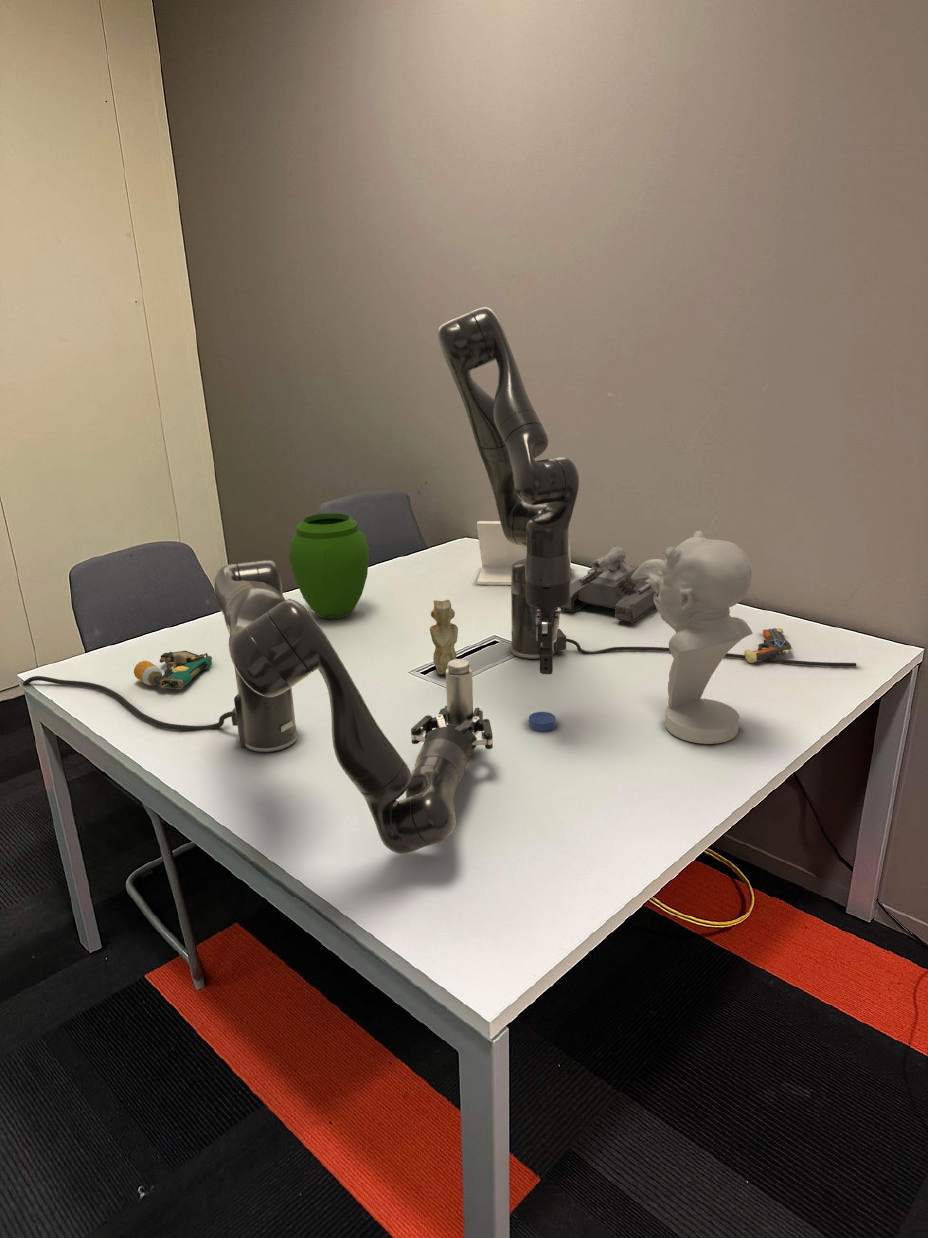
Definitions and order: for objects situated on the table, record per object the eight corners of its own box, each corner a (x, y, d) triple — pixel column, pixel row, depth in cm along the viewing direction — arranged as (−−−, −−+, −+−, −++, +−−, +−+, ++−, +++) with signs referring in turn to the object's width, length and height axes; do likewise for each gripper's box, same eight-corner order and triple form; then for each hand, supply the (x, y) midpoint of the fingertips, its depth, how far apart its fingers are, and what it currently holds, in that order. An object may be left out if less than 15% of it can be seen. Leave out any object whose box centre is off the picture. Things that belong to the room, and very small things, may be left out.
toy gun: (746, 653, 177) (797, 650, 175) (736, 627, 195) (782, 623, 193) (747, 666, 178) (798, 663, 176) (736, 638, 195) (782, 635, 193)
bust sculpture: (671, 682, 170) (682, 511, 158) (763, 732, 151) (784, 540, 138) (606, 701, 164) (613, 523, 151) (694, 755, 144) (709, 555, 131)
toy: (603, 584, 229) (605, 530, 224) (673, 597, 218) (677, 540, 213) (555, 612, 210) (556, 553, 205) (630, 627, 199) (633, 566, 194)
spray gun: (177, 659, 191) (231, 671, 185) (120, 684, 176) (176, 698, 171) (176, 641, 190) (230, 653, 184) (118, 665, 175) (174, 678, 169)
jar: (445, 757, 146) (441, 666, 140) (454, 745, 150) (451, 656, 144) (468, 761, 144) (466, 669, 138) (477, 749, 148) (475, 659, 142)
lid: (558, 730, 154) (558, 722, 153) (531, 732, 153) (531, 724, 153) (552, 718, 158) (552, 710, 158) (526, 720, 158) (526, 712, 157)
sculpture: (458, 662, 183) (456, 596, 178) (460, 676, 176) (457, 608, 171) (431, 663, 183) (428, 597, 177) (431, 677, 176) (428, 609, 171)
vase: (389, 608, 216) (383, 514, 208) (339, 633, 201) (330, 533, 192) (330, 596, 226) (322, 506, 218) (278, 619, 211) (267, 523, 202)
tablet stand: (569, 585, 229) (570, 524, 223) (476, 584, 232) (475, 523, 226) (570, 566, 246) (571, 508, 240) (484, 564, 249) (483, 507, 243)
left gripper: (487, 742, 129) (503, 694, 145) (395, 736, 132) (421, 689, 147) (488, 785, 132) (504, 733, 147) (398, 779, 134) (423, 728, 150)
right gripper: (529, 563, 153) (530, 646, 158) (521, 590, 139) (522, 679, 145) (571, 563, 151) (571, 647, 157) (567, 591, 138) (567, 681, 144)
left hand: (462, 711), depth 147 cm, fingers closed on jar, 4 cm apart
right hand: (548, 663), depth 151 cm, fingers open, 8 cm apart
